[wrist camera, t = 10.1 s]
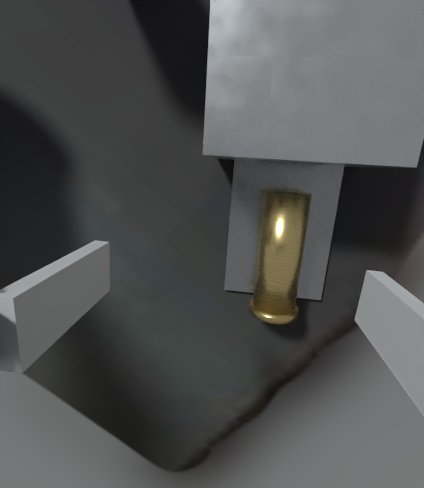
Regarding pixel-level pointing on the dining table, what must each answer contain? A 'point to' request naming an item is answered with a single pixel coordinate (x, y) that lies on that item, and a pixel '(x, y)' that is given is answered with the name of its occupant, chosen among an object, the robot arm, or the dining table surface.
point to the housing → (309, 110)
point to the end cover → (280, 255)
